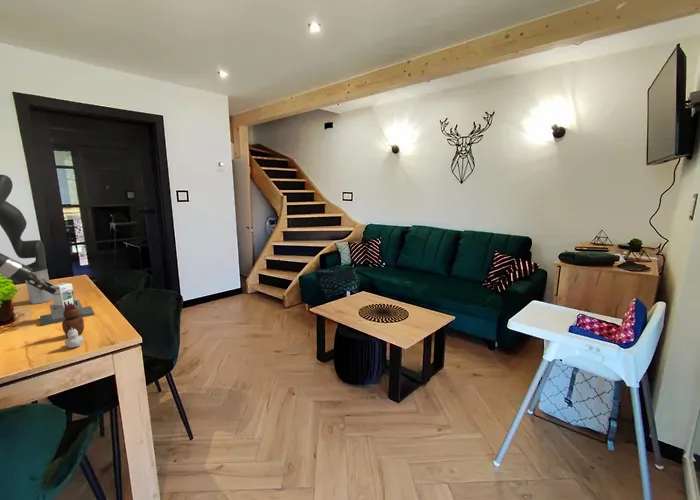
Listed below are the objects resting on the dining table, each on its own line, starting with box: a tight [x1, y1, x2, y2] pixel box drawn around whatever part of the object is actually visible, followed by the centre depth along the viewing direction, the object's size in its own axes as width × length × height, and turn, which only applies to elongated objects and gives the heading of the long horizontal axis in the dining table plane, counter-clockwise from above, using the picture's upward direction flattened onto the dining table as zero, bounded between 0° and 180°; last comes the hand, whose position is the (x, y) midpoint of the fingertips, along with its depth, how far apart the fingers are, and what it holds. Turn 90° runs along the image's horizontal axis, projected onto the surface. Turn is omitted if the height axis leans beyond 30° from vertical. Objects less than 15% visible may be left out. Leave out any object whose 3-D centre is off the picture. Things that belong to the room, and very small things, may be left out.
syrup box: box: [51, 282, 76, 309], centre depth 158 cm, size 6×6×14 cm
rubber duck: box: [64, 327, 84, 349], centre depth 128 cm, size 5×7×8 cm
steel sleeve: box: [39, 299, 95, 327], centre depth 159 cm, size 13×19×6 cm
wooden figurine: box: [61, 301, 85, 337], centre depth 137 cm, size 7×6×15 cm
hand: (54, 290), depth 155 cm, fingers open, 8 cm apart
